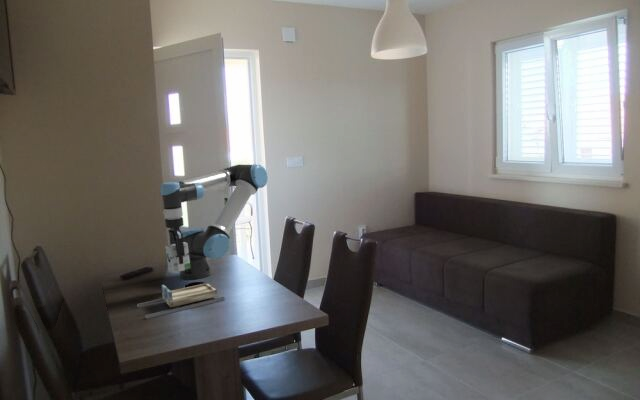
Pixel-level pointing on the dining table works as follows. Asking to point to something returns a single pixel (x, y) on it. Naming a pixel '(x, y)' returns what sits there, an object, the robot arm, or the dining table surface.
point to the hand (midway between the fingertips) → (179, 268)
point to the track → (176, 308)
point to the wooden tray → (188, 294)
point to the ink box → (172, 257)
